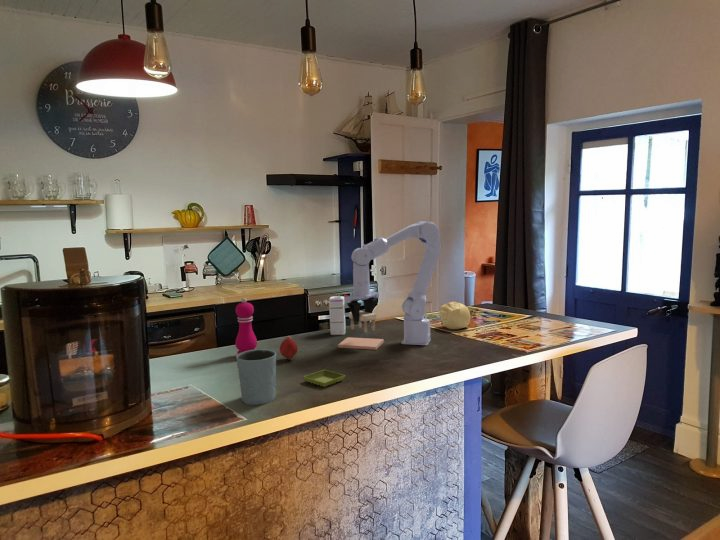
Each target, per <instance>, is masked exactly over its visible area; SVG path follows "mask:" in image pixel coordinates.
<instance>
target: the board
mask: <svg viewBox="0 0 720 540" xmlns="http://www.w3.org/2000/svg"><path fill="white" fill-rule="evenodd" d="M384 342H385V340H384V339H383V338H369V337H368V338H367V337H366V338H364V337H345V338H344V339H343V340H342V341H341V342H339V344H337V348H338V349H339V348H341V349H356V350H357V349H358V350H359V349H360V350H374V351H375V350H377V349H378V348H379V347H380V346H381V345H383V343H384Z"/></svg>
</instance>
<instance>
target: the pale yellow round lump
mask: <svg viewBox="0 0 720 540" xmlns="http://www.w3.org/2000/svg"><path fill="white" fill-rule="evenodd" d="M439 316H440V318H441V321H442V322H441V323H442V326H444V327H445V328H447V329H448V330H460V329H463V328H467V327H468V326H469V324H470V323H471V312H470V310H469V308H468V306H467V305H465V304H463V303H461V302H456V301H450V302H447V303H444V304H443V305H441V306H440V307H439Z"/></svg>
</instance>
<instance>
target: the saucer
mask: <svg viewBox="0 0 720 540" xmlns="http://www.w3.org/2000/svg"><path fill="white" fill-rule="evenodd" d="M345 377H346V375H345V374H342V373H340V372H339V373H338V372H335V371H331V370H327V369H322V370H318V371H316V372H313V373H310V374H306V375H304V376H303V379H304V380H305V381H306V382H307V383H309V382H310V383H309V384H312V383H313V384H312V385H315V384H316V385H315V386H319V385H320V387H322V386H323V388H326V387H328V385H329V386H331V385H333V384H337V383H339V382H341V381H342V380H343V379H344V378H345ZM336 382H337V383H336Z"/></svg>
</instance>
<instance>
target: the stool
mask: <svg viewBox="0 0 720 540" xmlns="http://www.w3.org/2000/svg"><path fill="white" fill-rule="evenodd" d="M348 318H349V319H350V330H355V321H354V320H353V316H352V313H351V311H350V312H348ZM376 320H377V314H376V313H373V312H372V313H369V312H365V310H364V311H363V310H360V312H359V322H357V323H358V325H357V326H358V329H359V328H360V329H361V328H362V327H363V333H368V322H371V324H370V325H371V331H372V332H375V331H376ZM362 323H363V325H362Z"/></svg>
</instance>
